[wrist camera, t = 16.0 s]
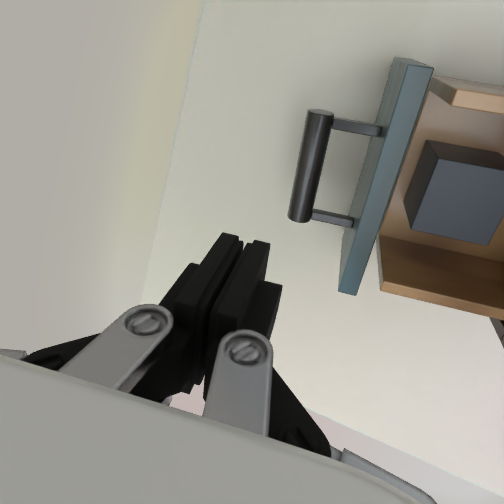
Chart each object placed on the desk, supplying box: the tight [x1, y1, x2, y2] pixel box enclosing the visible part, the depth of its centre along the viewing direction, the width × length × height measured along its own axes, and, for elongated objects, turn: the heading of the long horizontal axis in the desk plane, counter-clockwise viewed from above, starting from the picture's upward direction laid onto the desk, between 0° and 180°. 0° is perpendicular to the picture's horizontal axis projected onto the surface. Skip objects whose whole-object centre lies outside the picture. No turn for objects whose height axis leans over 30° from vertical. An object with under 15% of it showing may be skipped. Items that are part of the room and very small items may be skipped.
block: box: [403, 140, 504, 246], centre depth 23 cm, size 5×5×5 cm
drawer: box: [288, 57, 504, 320], centre depth 23 cm, size 17×13×8 cm
